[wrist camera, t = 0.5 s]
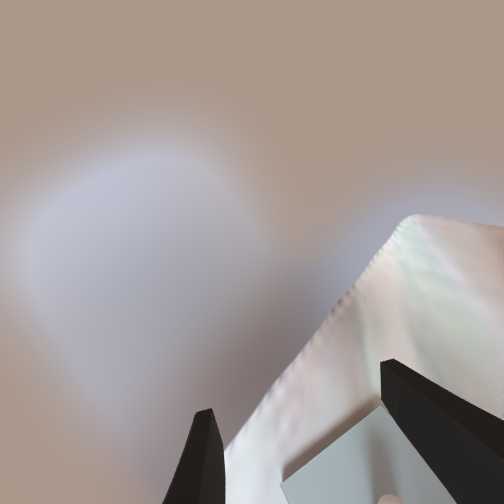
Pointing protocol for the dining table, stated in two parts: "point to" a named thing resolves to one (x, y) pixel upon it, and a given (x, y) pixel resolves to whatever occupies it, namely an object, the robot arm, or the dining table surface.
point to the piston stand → (367, 469)
